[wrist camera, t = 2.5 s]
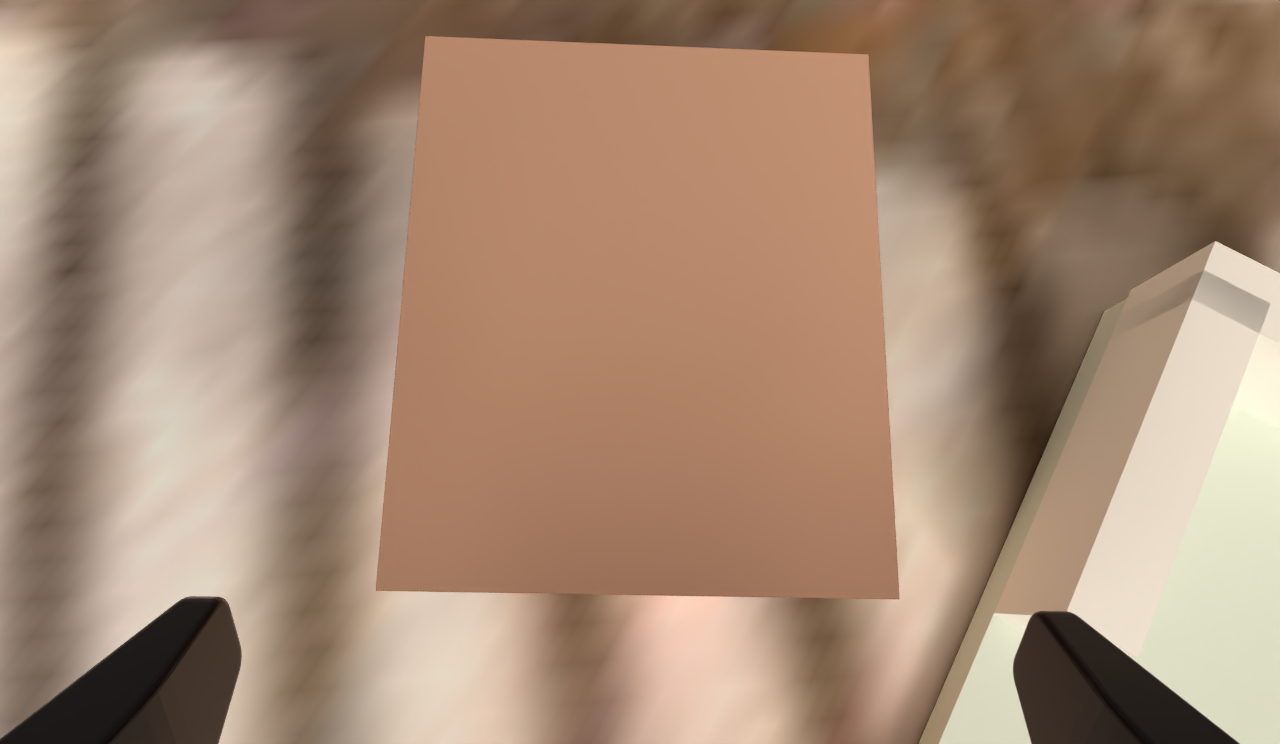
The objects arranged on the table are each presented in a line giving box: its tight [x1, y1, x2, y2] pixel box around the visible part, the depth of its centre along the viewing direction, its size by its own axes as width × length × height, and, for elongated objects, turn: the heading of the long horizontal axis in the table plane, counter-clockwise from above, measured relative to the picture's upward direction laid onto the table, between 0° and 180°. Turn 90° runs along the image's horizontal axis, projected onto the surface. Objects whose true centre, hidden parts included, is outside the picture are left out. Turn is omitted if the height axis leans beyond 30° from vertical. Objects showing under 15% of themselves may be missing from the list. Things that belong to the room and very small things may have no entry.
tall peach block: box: [376, 36, 899, 599], centre depth 15 cm, size 6×5×12 cm
